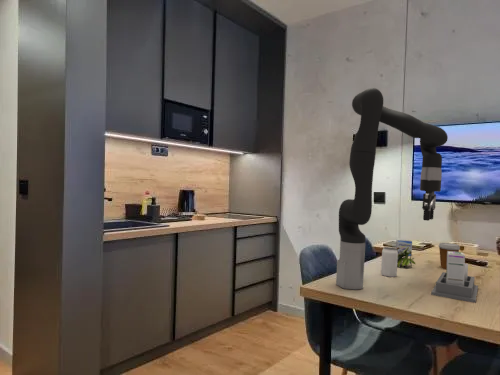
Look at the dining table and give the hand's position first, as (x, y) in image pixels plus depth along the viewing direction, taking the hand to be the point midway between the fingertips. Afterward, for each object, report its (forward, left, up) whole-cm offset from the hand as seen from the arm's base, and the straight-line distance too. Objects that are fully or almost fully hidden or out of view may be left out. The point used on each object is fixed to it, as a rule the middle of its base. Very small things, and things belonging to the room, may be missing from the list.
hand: (428, 219), depth 151 cm
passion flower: (+15, +34, -27) cm, 45 cm away
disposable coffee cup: (+36, +28, -27) cm, 52 cm away
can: (-5, +17, -27) cm, 32 cm away
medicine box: (+35, +61, -27) cm, 75 cm away
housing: (+7, -8, -26) cm, 29 cm away
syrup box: (+3, -12, -26) cm, 28 cm away
